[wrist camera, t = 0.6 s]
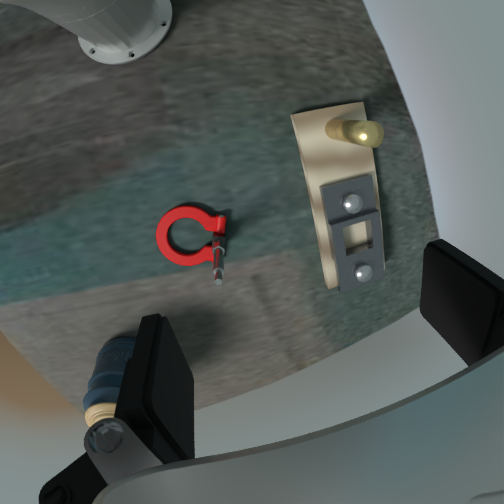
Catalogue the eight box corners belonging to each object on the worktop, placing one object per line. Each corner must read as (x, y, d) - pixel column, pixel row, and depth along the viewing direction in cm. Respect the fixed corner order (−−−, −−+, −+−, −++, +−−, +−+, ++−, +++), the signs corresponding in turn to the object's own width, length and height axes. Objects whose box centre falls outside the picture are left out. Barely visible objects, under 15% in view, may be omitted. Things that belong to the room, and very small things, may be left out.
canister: (90, 368, 49) (67, 444, 33) (112, 322, 46) (85, 406, 30) (152, 396, 54) (145, 473, 38) (182, 355, 50) (180, 442, 34)
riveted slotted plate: (319, 186, 40) (327, 191, 38) (368, 173, 40) (379, 177, 38) (335, 286, 47) (343, 296, 44) (378, 271, 47) (387, 280, 45)
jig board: (290, 114, 37) (293, 114, 36) (358, 102, 38) (363, 101, 36) (325, 284, 48) (328, 288, 47) (380, 265, 49) (384, 269, 47)
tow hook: (156, 259, 43) (221, 265, 45) (136, 309, 32) (222, 317, 33) (159, 201, 40) (227, 208, 42) (134, 234, 28) (231, 243, 30)
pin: (322, 121, 37) (358, 123, 28) (342, 117, 37) (381, 119, 28) (327, 141, 38) (363, 150, 29) (346, 137, 38) (385, 145, 29)
